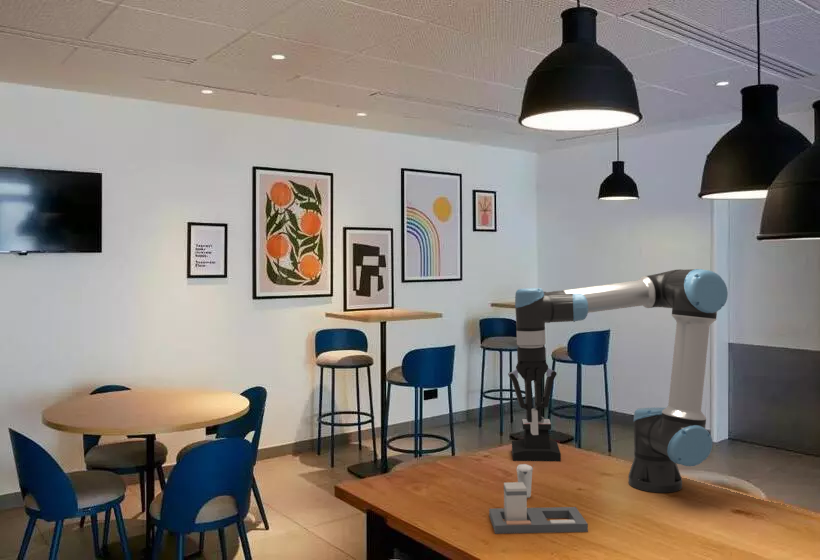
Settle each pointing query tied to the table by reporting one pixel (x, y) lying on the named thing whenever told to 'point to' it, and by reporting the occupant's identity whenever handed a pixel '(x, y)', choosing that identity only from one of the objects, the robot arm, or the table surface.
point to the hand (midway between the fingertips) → (534, 433)
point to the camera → (536, 444)
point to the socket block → (540, 521)
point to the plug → (515, 501)
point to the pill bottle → (525, 476)
